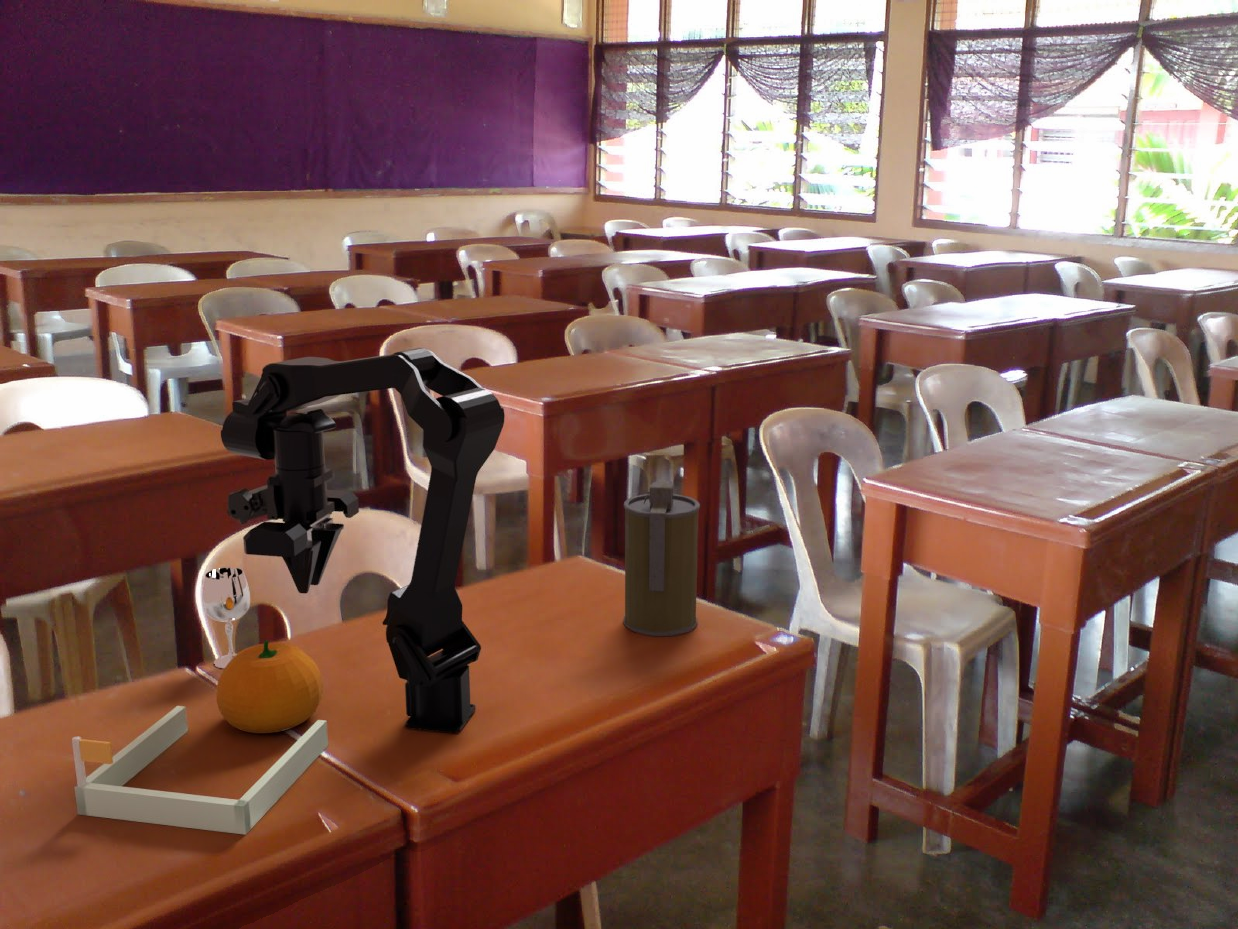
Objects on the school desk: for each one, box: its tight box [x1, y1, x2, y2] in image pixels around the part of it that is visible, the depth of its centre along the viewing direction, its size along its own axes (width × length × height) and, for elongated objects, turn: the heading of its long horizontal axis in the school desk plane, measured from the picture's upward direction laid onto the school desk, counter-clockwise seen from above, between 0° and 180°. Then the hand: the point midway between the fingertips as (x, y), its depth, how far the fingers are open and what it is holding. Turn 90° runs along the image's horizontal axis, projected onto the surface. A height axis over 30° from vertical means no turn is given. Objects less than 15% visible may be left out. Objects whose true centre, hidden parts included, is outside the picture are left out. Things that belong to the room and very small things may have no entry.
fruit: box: [216, 640, 324, 734], centre depth 132 cm, size 12×12×10 cm
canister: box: [622, 480, 701, 637], centre depth 160 cm, size 11×10×20 cm
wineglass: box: [201, 566, 251, 669], centre depth 148 cm, size 6×6×12 cm
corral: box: [71, 705, 329, 836], centre depth 120 cm, size 18×18×8 cm
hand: (308, 588), depth 141 cm, fingers open, 3 cm apart
